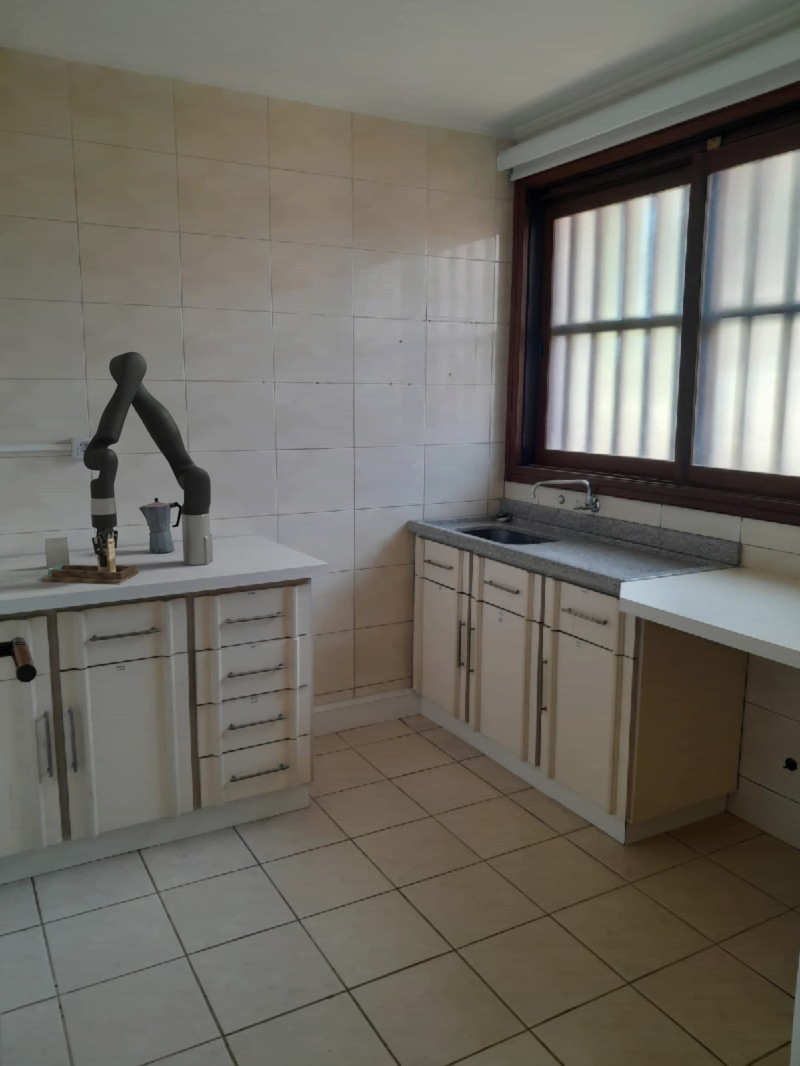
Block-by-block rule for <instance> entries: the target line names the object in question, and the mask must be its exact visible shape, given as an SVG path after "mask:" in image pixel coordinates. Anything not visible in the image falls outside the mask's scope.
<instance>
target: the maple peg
mask: <svg viewBox="0 0 800 1066" xmlns="http://www.w3.org/2000/svg"><path fill="white" fill-rule="evenodd" d="M108 541H109V544H108V548H107V567H100V559H99V555H98V554H96V560H97V562H96V563H97V565H98V572H116V565H117V564H116V549H115V546H114V542H113V538H110V539H109V540H108ZM102 545H106V543H102ZM97 549H98V548H97ZM103 549H104V548H103Z"/></svg>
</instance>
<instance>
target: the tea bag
mask: <svg viewBox="0 0 800 1066" xmlns="http://www.w3.org/2000/svg"><path fill="white" fill-rule="evenodd" d="M44 541H45V542H44V543H45V545H44V546H45V548H44V549H45V562H46V568H47V569H48V570H49V568H54V567H56V566H58V565H71V564H70V549H69V543H68V542H69V541H68V537H67V536H63V537H62V536H61V537H49V538H45V539H44Z"/></svg>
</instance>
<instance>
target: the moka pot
mask: <svg viewBox="0 0 800 1066" xmlns="http://www.w3.org/2000/svg"><path fill="white" fill-rule="evenodd" d="M153 500H154V502H152V503H148V504H145V505H141V506H140V507H138V510H139V511H140V512H141V513H142V515H143V516H144V518H145V521H146V524H147V527H148V528H149V529H148V531H149V533H148V535H149V548H148V549H149V553H151V554H164V553H171V552H173V551H174V550H175V544H174V540H173V537H172V533H171V527H172V528H177V527H179V526H180V522H181V519H182V512H181V507H182V505H181V503H180V504H179V502H178V501H175V502H168V503H165V502H160V501H159V498H158V497H153ZM175 508H178V513H177V518H176V522H175V524H172V525H171V510H172V509H175Z"/></svg>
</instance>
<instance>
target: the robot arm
mask: <svg viewBox="0 0 800 1066" xmlns="http://www.w3.org/2000/svg"><path fill="white" fill-rule="evenodd" d="M108 367H109V369H108V370H109V373H110V375H111V378H112V379H113V380H114V382H115V383H116V388H115V390H114V392H113V394H112V395H111V397H110V399H109V401H108V403H107V404H106V406H105V408H104V410H103V412H102V413H101V416H100V419H99V422H98V426H97V429H96V432H95V434H94V435H93V437H92V438H91V440H90V441H89V443H88V444H87V446H86V448H85V450H84V452H83V457H82V458H83V459H82V462H83V465H84V466H85V468H87V470H90V471H99V473H98V476H97V477H96V478H93V479H92V480H91V481H90V484H89V487H90V488H89V489H90V517H91V519H90V521H91V527H92V528H95V529H96V533H95V534H96V535H95V536H92V538H91V542H92V543H91V544H92V547H93V550H94V554H95V555H97V554H98V555H99V559H100V567H107V548H108V544H109V541H108V540H109V539H110V538H113V542H114V546H115V550H116V549H117V548H118V538H119V537H118V536H119V535H118V534H119V531H118V530H115V527H117V526H118V517H117V513H118V511H117V502H116V497H115V493H116V492H115V482H116V477H117V471H118V467H119V458H118V455H117V453H116V451H114V450H113V449H112V448H109V447H110V446H112V445H115V444H117V443H118V442H119V441H120V438H121V434H122V432H123V428H124V425H125V422H126V418H127V416H128V412H129V411H130V410H129V409H130V408H131V405H132V408H133V409H134V411H135V412H136V414H137V415H138V417H139V419H140V420H141V422H142V424H143V426H144V427H145V429H146V431H147V433H148V434H149V436H150V438H151V439H152V440H153V442H154V443H155V445H156V447H157V448H158V450H159V451H160V453H162V455H163V457H164V458H165V460H166V462H167V463H168V465H169V467H170V469H171V471H172V473H173V475H174V477H175V479H176V482H177V484H178V486H179V488H180V489H181V490H183V502H182V505H181V506H182V507H181V512H182V514H181V531H182V532H181V533H182V534H181V535H182V552H183V557H182V558H183V564H185V565H191V566H192V565H193V566H199V565H200V566H201V565H209V564H210V563H211V561H212V562H213V561H214V555H213V553H214V552H213V551H214V549H213V534H212V533H211V529H210V528H211V525H210V523H211V522H210V507H211V503H212V499H211V498H212V495H211V494H212V493H211V492H212V487H211V485H212V484H211V477H210V475H209V473H208V472H207V471H206V470H205V469H204V468H201V467H199V466H197V464H196V463H195V462H194V461H193V459H192V458H191V456H190V455H189V453H188V452H187V449H186V446H185V444H184V441H183V437H182V433H181V431H180V429H179V427H178V424H177V422H175V420H174V418H173V416H172V414H171V412H170V411H169V410H168V408H166V407H165V405H164V404H162V403H161V402H160V401H159V400H158V399H156V398H155V397H154V395H152V394H151V392H149V391H148V389H147V387H145V385H144V383H143V379H144V378H145V375H146V373H147V368H148V365H147V361H146V359H145V358H144V356H143V355H142V354H141V353H139V352H137V351H127V352H124V353H121V354H118V355H116V356H114V357H112V358H111V359H110V361H109V365H108ZM102 543H106V545H102ZM97 548H98V549H97ZM103 548H104V549H103ZM208 563H209V564H208Z"/></svg>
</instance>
